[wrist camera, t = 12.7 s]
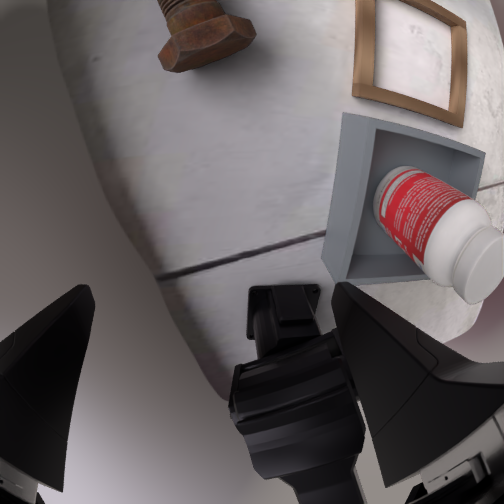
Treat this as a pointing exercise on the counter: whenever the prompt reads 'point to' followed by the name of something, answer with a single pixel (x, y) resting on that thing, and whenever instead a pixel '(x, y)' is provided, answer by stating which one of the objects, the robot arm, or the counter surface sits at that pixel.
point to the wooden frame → (368, 91)
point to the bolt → (201, 34)
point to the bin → (364, 187)
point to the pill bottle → (441, 231)
